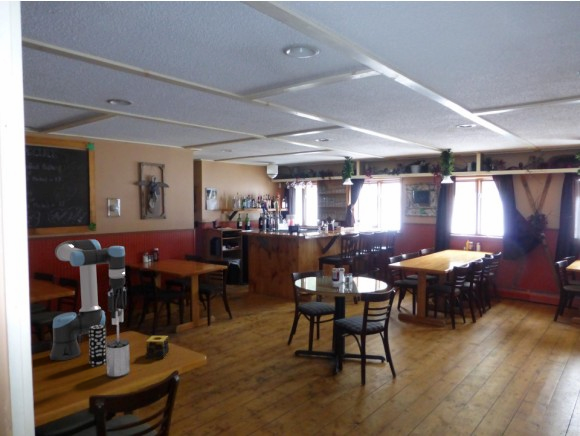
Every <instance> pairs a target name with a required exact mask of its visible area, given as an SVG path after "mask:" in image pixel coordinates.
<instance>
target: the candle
mask: <svg viewBox="0 0 580 436" xmlns="http://www.w3.org/2000/svg"><path fill="white" fill-rule="evenodd" d="M145 344H146V346H145V348H146V351H145V359H147V360H151V358H152V359H153V360H155V359H156V360H158V359H157V358H162V359H161V360H163V358H164V357H165V356H167V355H168V354H169V353H168V352H169V350H170V348H169V346H170V345H169V335H150V337H149V338H148V339H147V340H146V341H145ZM167 353H168V354H167ZM166 354H167V355H166ZM165 358H166V357H165ZM165 358H164V359H165Z"/></svg>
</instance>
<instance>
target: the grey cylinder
mask: <svg viewBox="0 0 580 436" xmlns="http://www.w3.org/2000/svg"><path fill="white" fill-rule="evenodd" d="M129 374H130V341H129V339H124V338H121V339H119V343H117V339H114V340H109V341H107V342H106V376H107V377H108V378H110V379H120V378H124V377H126V376H128V375H129Z"/></svg>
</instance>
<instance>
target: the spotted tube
mask: <svg viewBox="0 0 580 436" xmlns="http://www.w3.org/2000/svg"><path fill="white" fill-rule="evenodd" d="M106 344H107V325H106V324H105V325H101V324H100V325H93V326H90V327H89V333H88V350H89V351H88V355H89V357H88V359H89V366H90V367H100V366H104V365H107V345H106Z"/></svg>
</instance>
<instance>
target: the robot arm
mask: <svg viewBox="0 0 580 436" xmlns="http://www.w3.org/2000/svg"><path fill="white" fill-rule="evenodd" d="M125 248H126V247H124V246H123V245H122V246H121V245H112V246H109V247H105V248H102V247H101V244H100V242H99V241H98V239H97V240H96V239H79V240H76V239H75V240H66V241H64V242H62V243H59V245H57V246H56V248H55V251H54V253H55V257H56V258H57V259H58V260H59V261H61V262H62V261H63V262H69V263H70V265H71V266H72V267H79V276H80V278H79V279H80V297H81V308H80V309H79V311H78V314H77V313H76V312H75V311H74V312H73V311H69V312H65V313H60V314H58V315H57V316H55V317H54V318H53V322H52V336H53V337H52V339H53V341H52V342H53V343H52V347H51V350H50V354H49V358H50V360H52V361H58V362H59V361H68V360H71V359H75V358H77V357H79V356H80V355H81V348H80V346H79V343H78V340H77V339H78V338H77V337H78V336H81V335H86V334H89V327H90V326H93V325H100V324H101V325H106V315H105V314H106V312H105V311H104V310H102V308H101V306H99V302H98V301H99V300H98V299H99V298H98V297H99V296H98V281H97V265H102V264H108V277H109V278H108V285H109V286H110V291H107V292H106V297H107V311H108V312H111V325H113V326H114V325H116V326H117V324H118V314H117V311H116V309H117V308H119V309H121V310H122V314H121V315H120V316H119V323H123V322H124V310H125V309H127V308H126V307H127V291H128V286H126V287H125V286H124V285H125V284H126V277H125V276H126V251H125Z"/></svg>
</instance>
